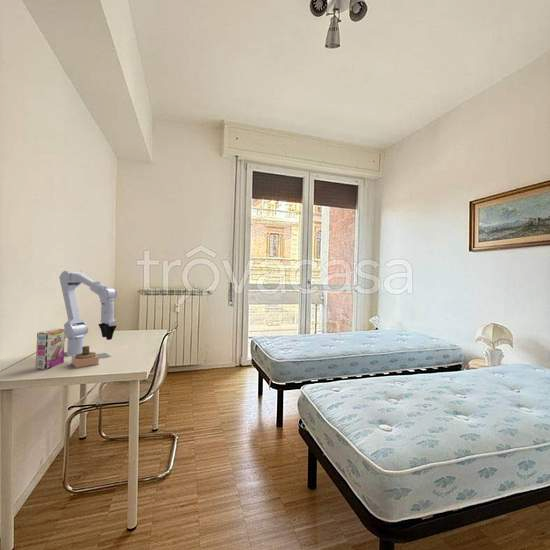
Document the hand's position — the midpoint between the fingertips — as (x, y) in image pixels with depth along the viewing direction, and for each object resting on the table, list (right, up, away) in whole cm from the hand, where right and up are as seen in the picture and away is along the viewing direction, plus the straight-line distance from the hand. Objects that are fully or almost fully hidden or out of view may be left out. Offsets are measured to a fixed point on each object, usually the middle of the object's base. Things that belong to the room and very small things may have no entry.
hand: (107, 338), depth 153 cm
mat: (-5, -10, +1) cm, 11 cm away
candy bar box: (-17, -10, -15) cm, 25 cm away
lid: (-3, -6, -12) cm, 14 cm away
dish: (-3, -10, -13) cm, 16 cm away
